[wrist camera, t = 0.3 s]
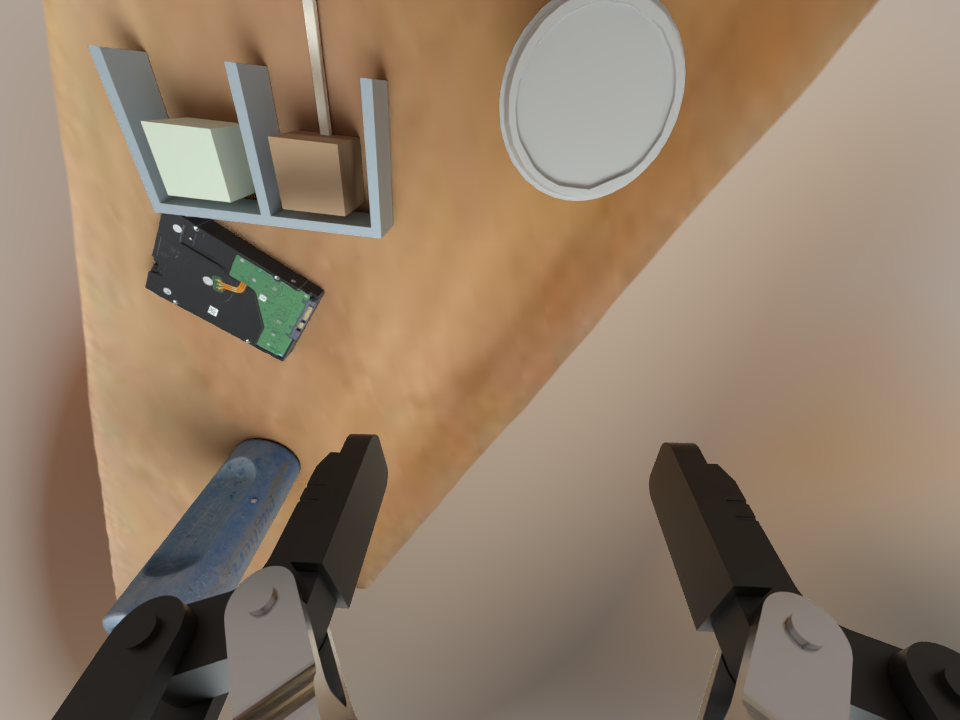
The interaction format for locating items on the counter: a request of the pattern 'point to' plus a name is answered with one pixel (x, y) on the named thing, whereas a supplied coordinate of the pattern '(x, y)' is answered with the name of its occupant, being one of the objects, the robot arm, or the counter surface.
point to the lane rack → (246, 146)
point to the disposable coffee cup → (591, 94)
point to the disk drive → (231, 284)
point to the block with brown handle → (318, 150)
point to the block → (200, 158)
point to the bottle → (216, 530)
